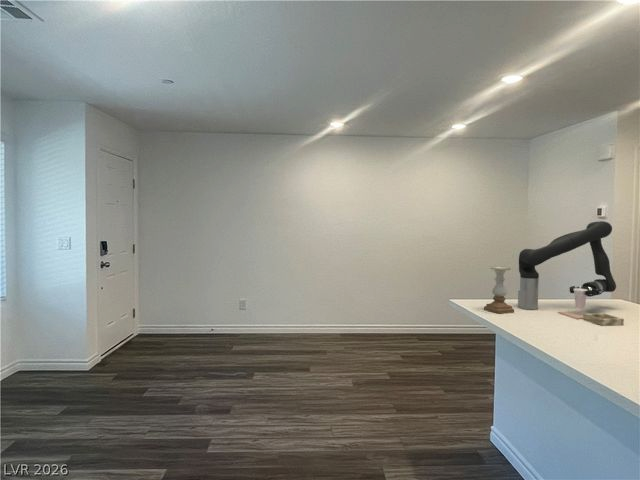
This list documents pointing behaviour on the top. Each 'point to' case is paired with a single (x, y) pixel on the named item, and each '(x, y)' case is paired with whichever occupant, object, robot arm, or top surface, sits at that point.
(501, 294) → the candle holder
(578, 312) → the tile
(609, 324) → the square wooden tray
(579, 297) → the smoothie
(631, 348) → the top surface
